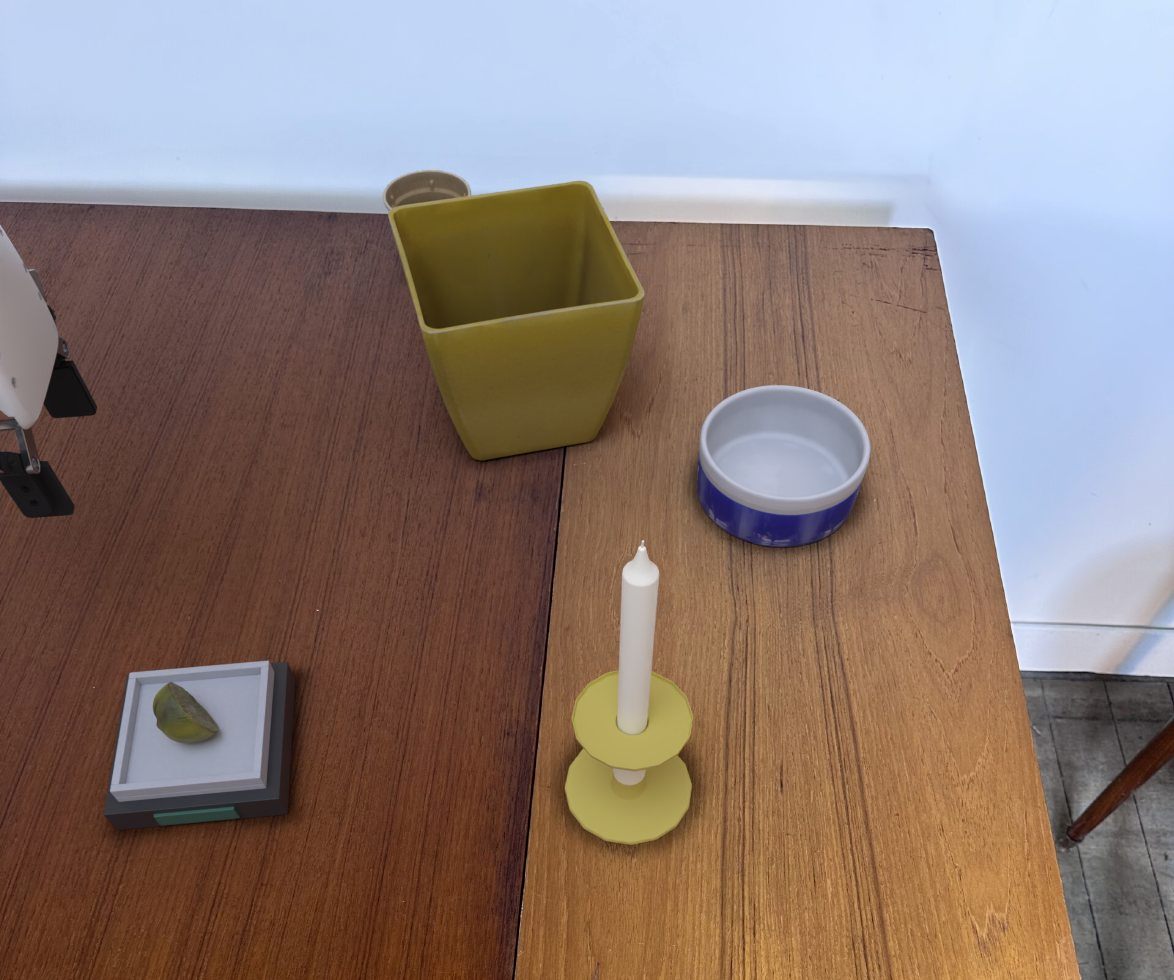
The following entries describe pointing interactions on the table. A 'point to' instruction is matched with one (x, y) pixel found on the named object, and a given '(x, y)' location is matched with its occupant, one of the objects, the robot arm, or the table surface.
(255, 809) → the scale
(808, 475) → the dog bowl
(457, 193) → the flower pot
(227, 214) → the table surface
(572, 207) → the flower pot
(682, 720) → the candle
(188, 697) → the lime
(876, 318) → the table surface
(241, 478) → the table surface
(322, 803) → the table surface
